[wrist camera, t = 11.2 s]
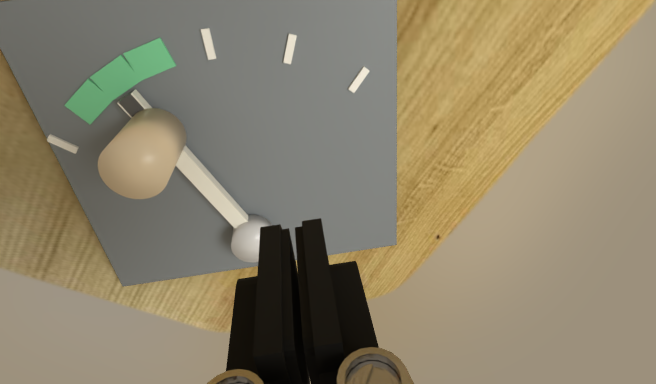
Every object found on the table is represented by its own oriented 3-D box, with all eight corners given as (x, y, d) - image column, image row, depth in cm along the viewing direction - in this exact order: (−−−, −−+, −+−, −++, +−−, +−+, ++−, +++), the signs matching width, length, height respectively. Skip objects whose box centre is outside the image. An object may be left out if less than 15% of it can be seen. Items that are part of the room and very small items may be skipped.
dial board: (390, -42, 24) (397, -42, 23) (392, 234, 36) (397, 246, 34) (-7, 1, 23) (-25, 4, 21) (128, 274, 34) (121, 288, 33)
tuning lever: (282, 233, 32) (285, 286, 27) (247, 253, 33) (242, 309, 27) (150, 78, 24) (118, 110, 19) (107, 108, 25) (64, 147, 20)
